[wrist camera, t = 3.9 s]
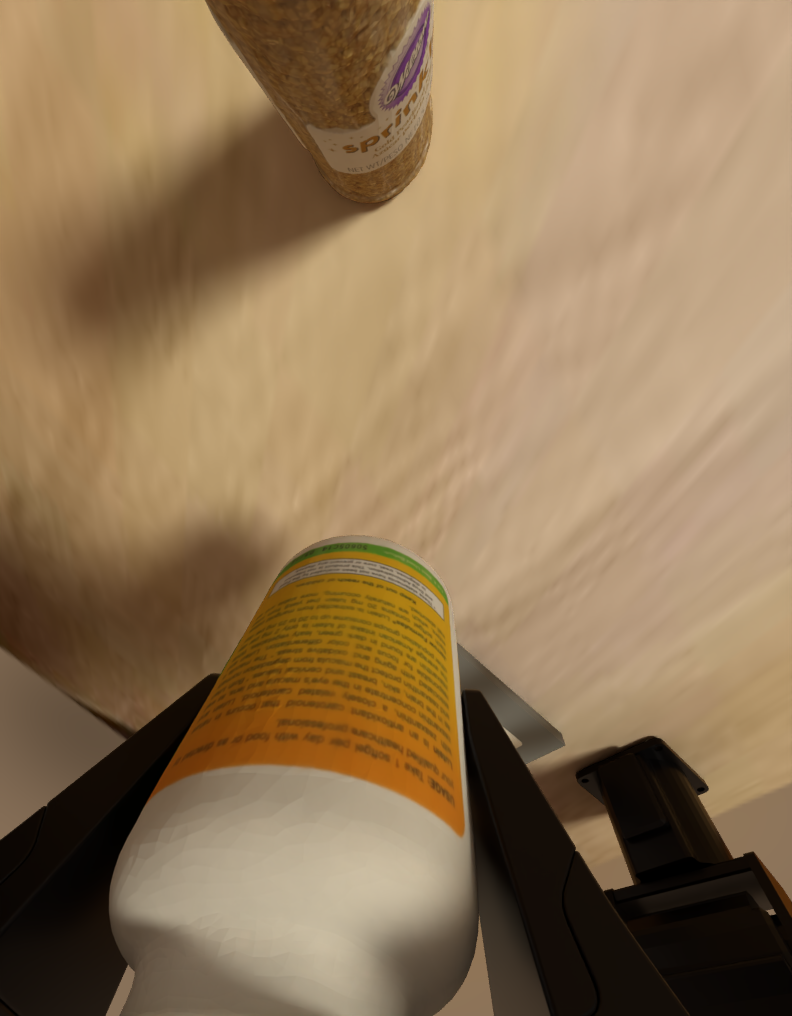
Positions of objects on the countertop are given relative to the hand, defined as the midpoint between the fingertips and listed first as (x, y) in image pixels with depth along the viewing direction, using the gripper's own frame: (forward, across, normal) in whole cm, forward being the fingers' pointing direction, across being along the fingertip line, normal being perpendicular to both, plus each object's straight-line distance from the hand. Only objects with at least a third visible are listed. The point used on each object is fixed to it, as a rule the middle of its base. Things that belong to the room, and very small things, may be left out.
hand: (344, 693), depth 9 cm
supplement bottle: (+3, 0, 0) cm, 3 cm away
